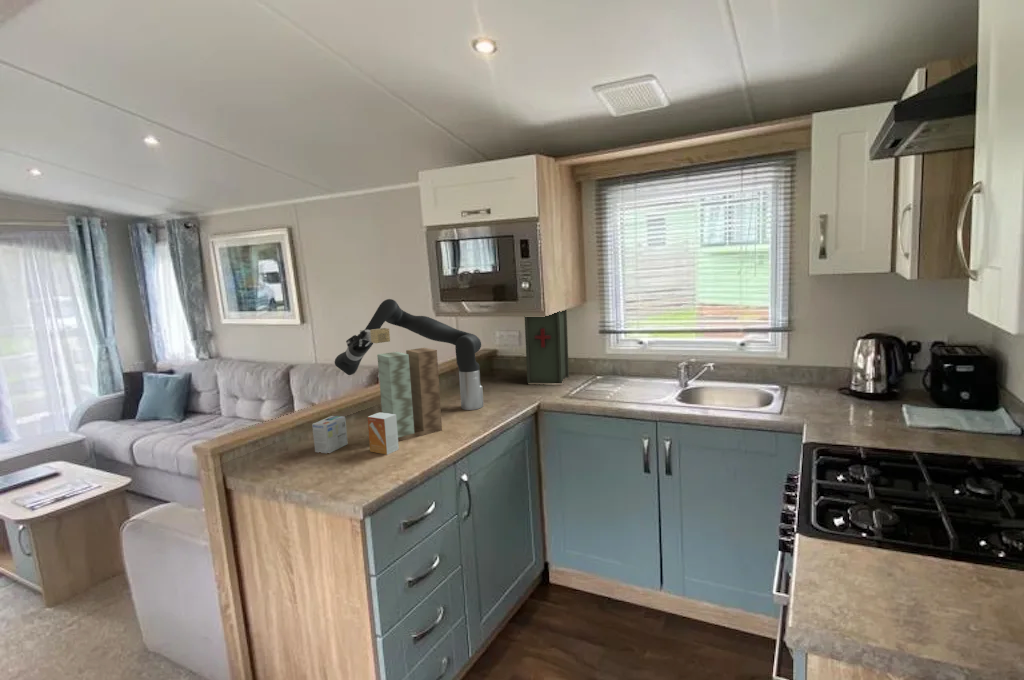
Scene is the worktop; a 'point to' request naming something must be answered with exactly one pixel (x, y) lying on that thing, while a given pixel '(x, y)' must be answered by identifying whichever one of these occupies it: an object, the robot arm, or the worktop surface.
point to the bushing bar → (377, 335)
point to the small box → (383, 433)
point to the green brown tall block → (411, 391)
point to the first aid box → (547, 348)
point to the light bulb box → (330, 434)
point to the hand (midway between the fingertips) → (369, 331)
